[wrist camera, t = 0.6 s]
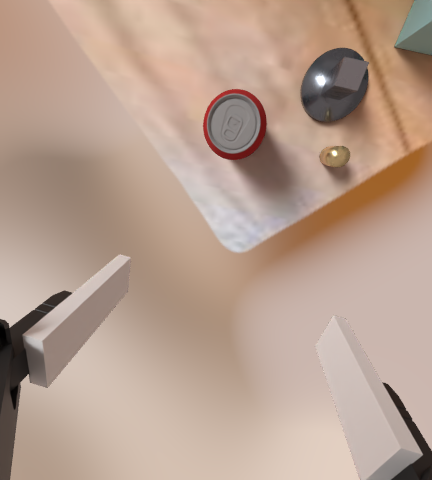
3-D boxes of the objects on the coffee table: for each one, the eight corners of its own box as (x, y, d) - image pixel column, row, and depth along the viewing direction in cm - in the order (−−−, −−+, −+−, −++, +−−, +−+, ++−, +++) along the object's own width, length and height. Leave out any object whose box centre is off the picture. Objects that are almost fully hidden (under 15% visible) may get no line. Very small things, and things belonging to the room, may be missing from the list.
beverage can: (270, 120, 32) (281, 104, 21) (247, 164, 35) (247, 172, 24) (227, 98, 32) (217, 70, 21) (208, 144, 34) (189, 142, 23)
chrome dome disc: (314, 44, 28) (330, 18, 23) (377, 58, 28) (409, 35, 22) (291, 114, 31) (301, 107, 26) (348, 127, 31) (369, 123, 26)
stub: (323, 144, 32) (333, 144, 28) (341, 148, 32) (353, 148, 28) (316, 163, 33) (325, 164, 30) (333, 167, 33) (344, 169, 29)
